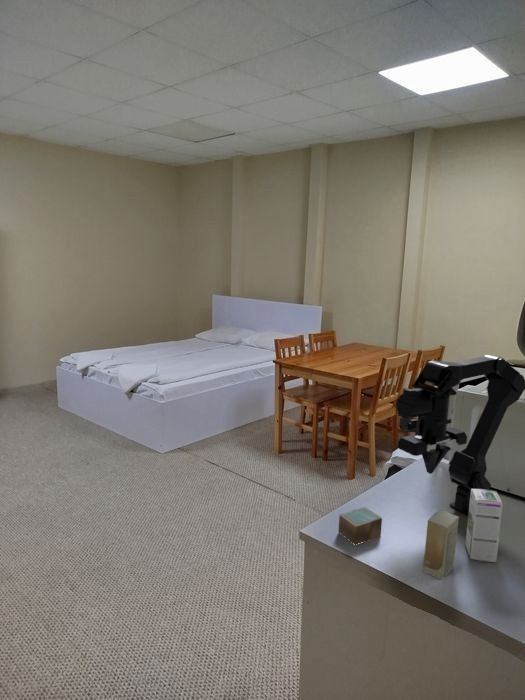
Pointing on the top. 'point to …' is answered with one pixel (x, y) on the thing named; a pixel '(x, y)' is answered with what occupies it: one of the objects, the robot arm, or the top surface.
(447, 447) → the robot arm
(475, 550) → the syrup box
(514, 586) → the top surface
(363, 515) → the walnut block
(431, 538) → the skincare box
